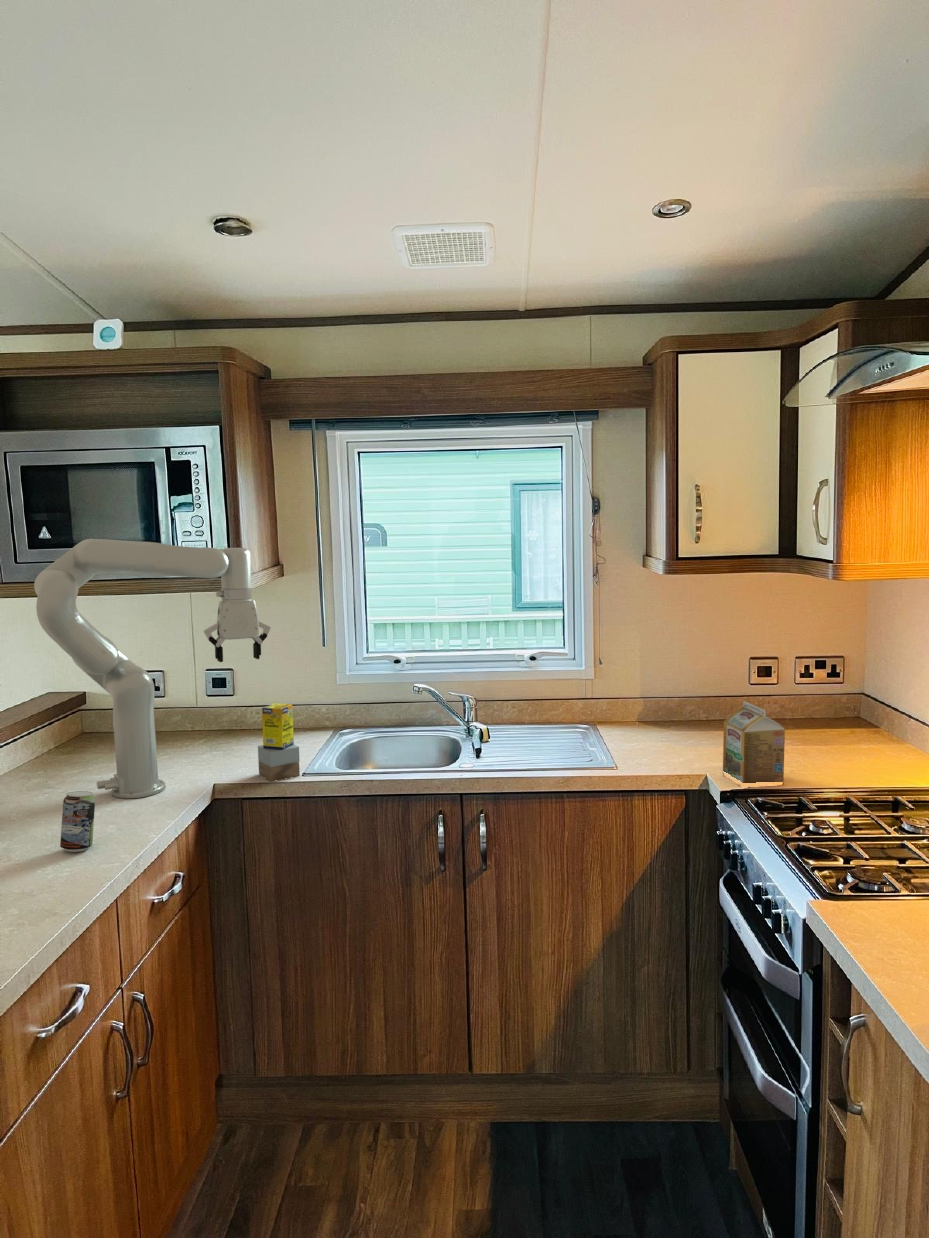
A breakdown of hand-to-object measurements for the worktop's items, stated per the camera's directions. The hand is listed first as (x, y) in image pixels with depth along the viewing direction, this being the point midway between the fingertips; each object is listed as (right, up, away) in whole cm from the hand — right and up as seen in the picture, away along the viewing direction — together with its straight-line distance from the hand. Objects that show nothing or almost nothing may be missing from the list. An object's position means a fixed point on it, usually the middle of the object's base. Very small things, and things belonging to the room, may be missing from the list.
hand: (238, 659), depth 223 cm
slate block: (+11, -27, -1) cm, 29 cm away
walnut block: (+11, -31, 0) cm, 32 cm away
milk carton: (+131, -30, -12) cm, 135 cm away
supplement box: (+11, -23, -1) cm, 25 cm away
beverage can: (-20, -37, -48) cm, 64 cm away
